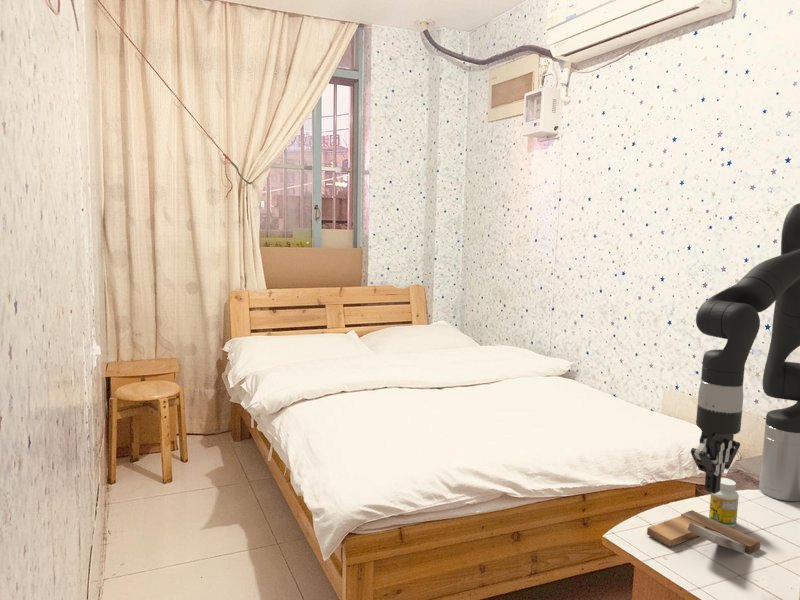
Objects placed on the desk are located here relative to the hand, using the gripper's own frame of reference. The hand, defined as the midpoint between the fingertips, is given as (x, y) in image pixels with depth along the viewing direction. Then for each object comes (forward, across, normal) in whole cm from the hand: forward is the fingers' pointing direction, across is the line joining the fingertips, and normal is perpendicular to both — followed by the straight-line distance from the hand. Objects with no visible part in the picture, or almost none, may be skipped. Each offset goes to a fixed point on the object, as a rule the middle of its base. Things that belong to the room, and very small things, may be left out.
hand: (712, 491), depth 113 cm
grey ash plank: (+11, +3, 0) cm, 12 cm away
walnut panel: (+14, +12, +4) cm, 19 cm away
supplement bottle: (+14, +18, +7) cm, 24 cm away
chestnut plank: (+14, +3, +9) cm, 17 cm away
